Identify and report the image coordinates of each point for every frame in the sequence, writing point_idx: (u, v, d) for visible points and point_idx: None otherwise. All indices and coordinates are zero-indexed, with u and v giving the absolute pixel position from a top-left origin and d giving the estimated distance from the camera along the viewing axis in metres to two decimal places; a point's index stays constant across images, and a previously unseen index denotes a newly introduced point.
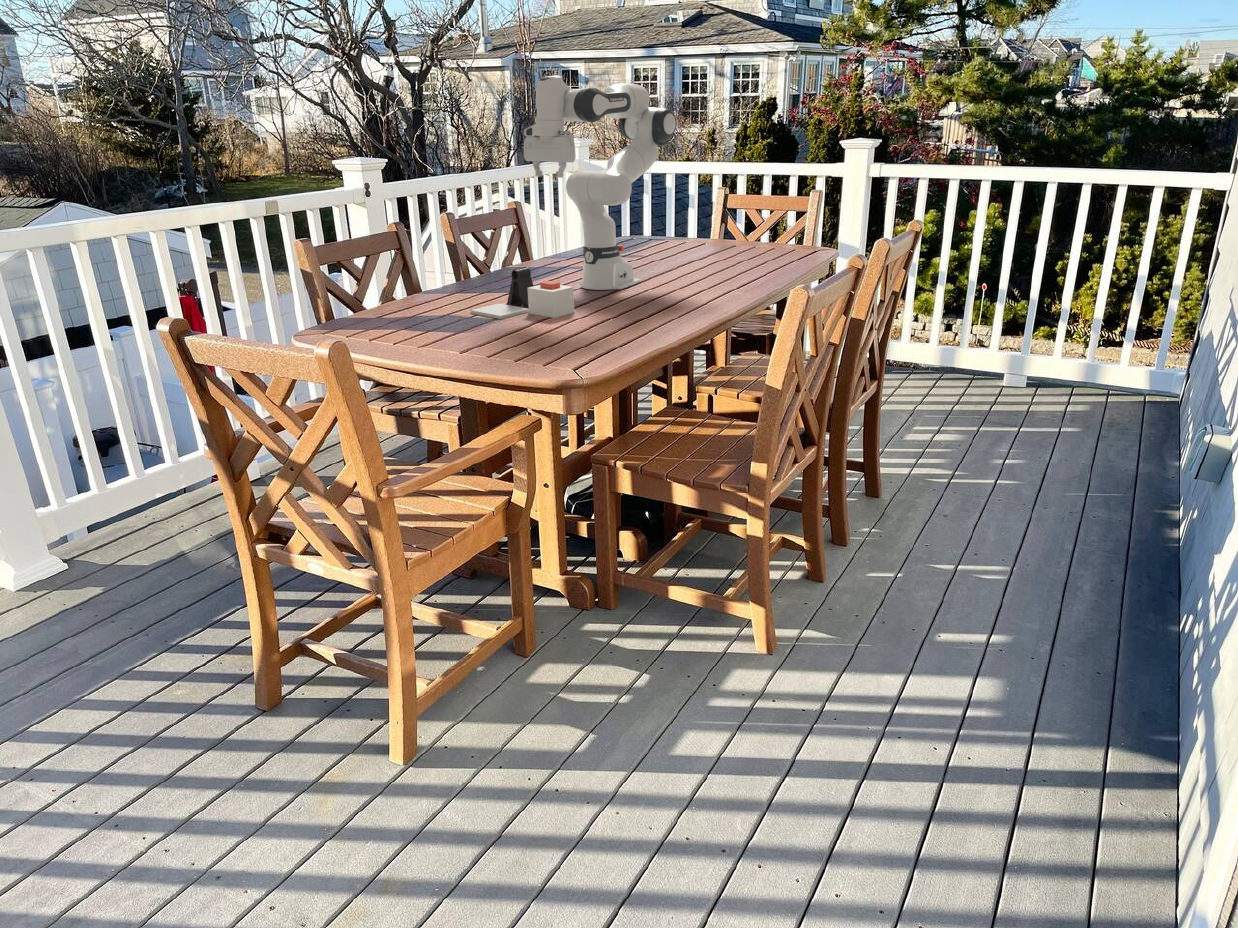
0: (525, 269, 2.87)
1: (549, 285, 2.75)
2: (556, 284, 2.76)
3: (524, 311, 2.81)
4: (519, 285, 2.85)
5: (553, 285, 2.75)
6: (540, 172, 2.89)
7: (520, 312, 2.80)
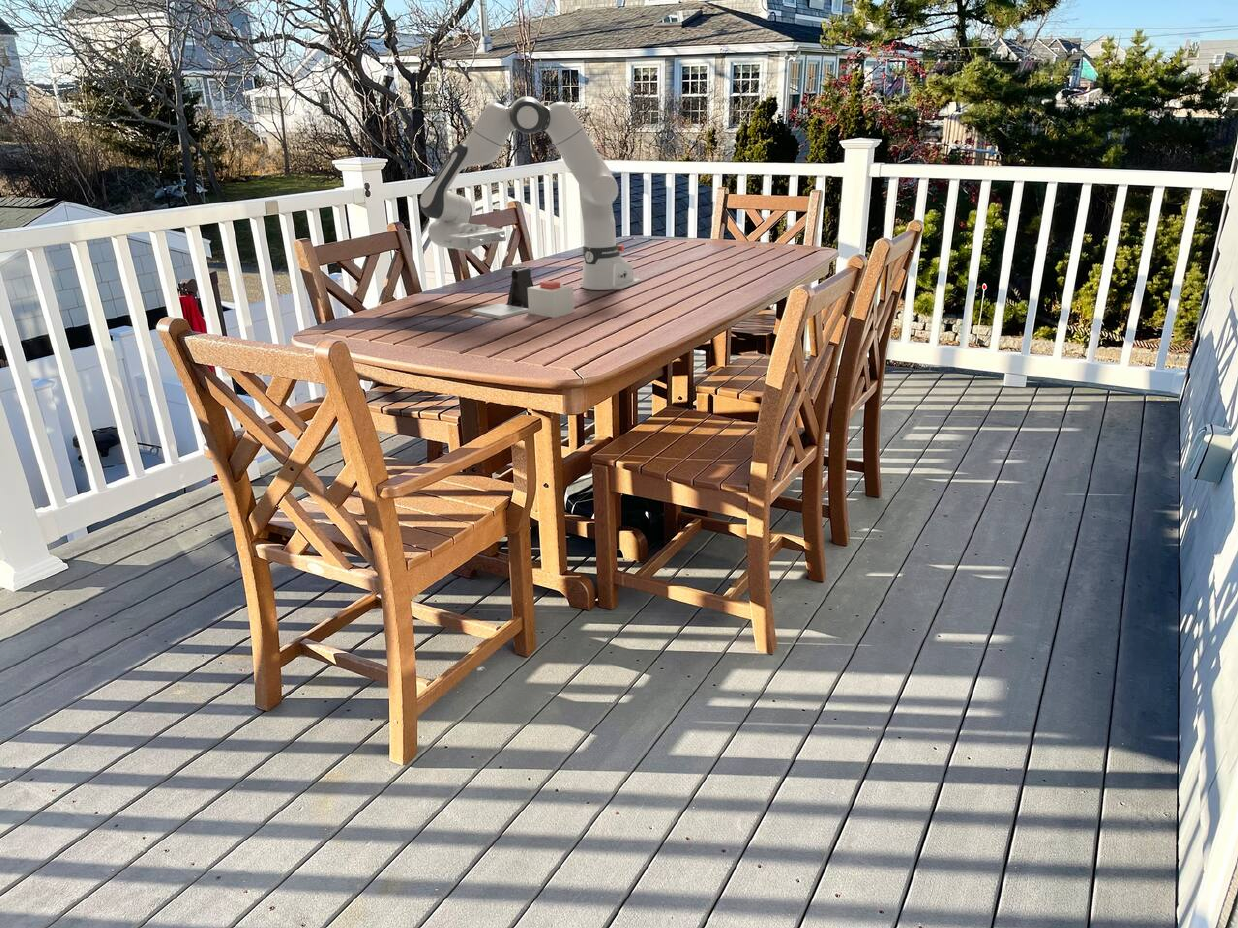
0: (525, 269, 2.87)
1: (549, 285, 2.75)
2: (556, 284, 2.76)
3: (524, 311, 2.81)
4: (519, 285, 2.85)
5: (553, 285, 2.75)
6: (499, 238, 2.95)
7: (520, 312, 2.80)
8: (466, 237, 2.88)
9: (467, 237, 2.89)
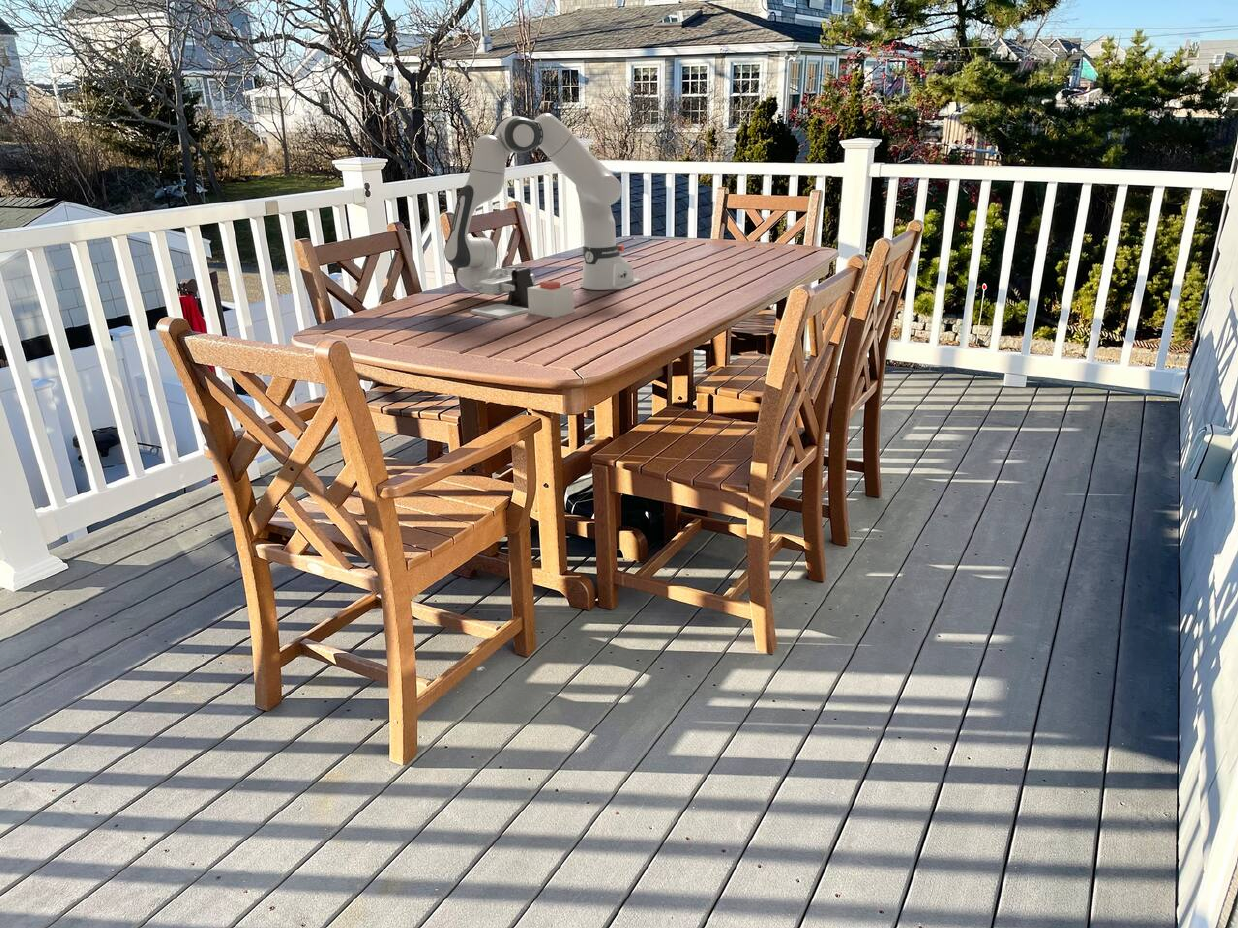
0: (525, 269, 2.87)
1: (549, 285, 2.75)
2: (556, 284, 2.76)
3: (524, 311, 2.81)
4: (519, 285, 2.85)
5: (553, 285, 2.75)
6: None
7: (520, 312, 2.80)
8: (496, 283, 2.86)
9: (497, 283, 2.86)
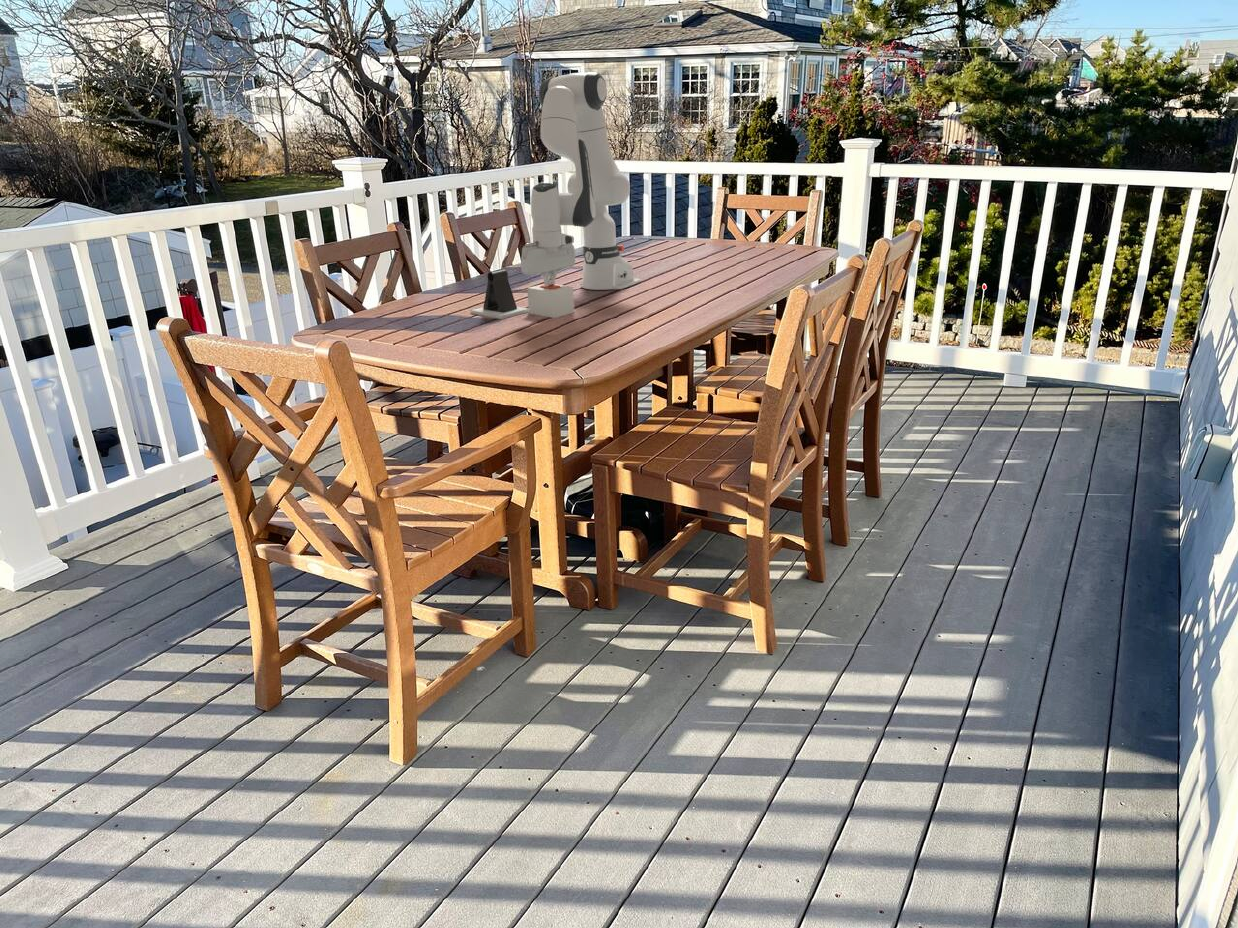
0: (502, 272, 2.79)
1: (549, 288, 2.75)
2: (556, 287, 2.76)
3: (524, 311, 2.81)
4: (495, 288, 2.77)
5: (553, 288, 2.75)
6: None
7: (520, 312, 2.80)
8: None
9: None
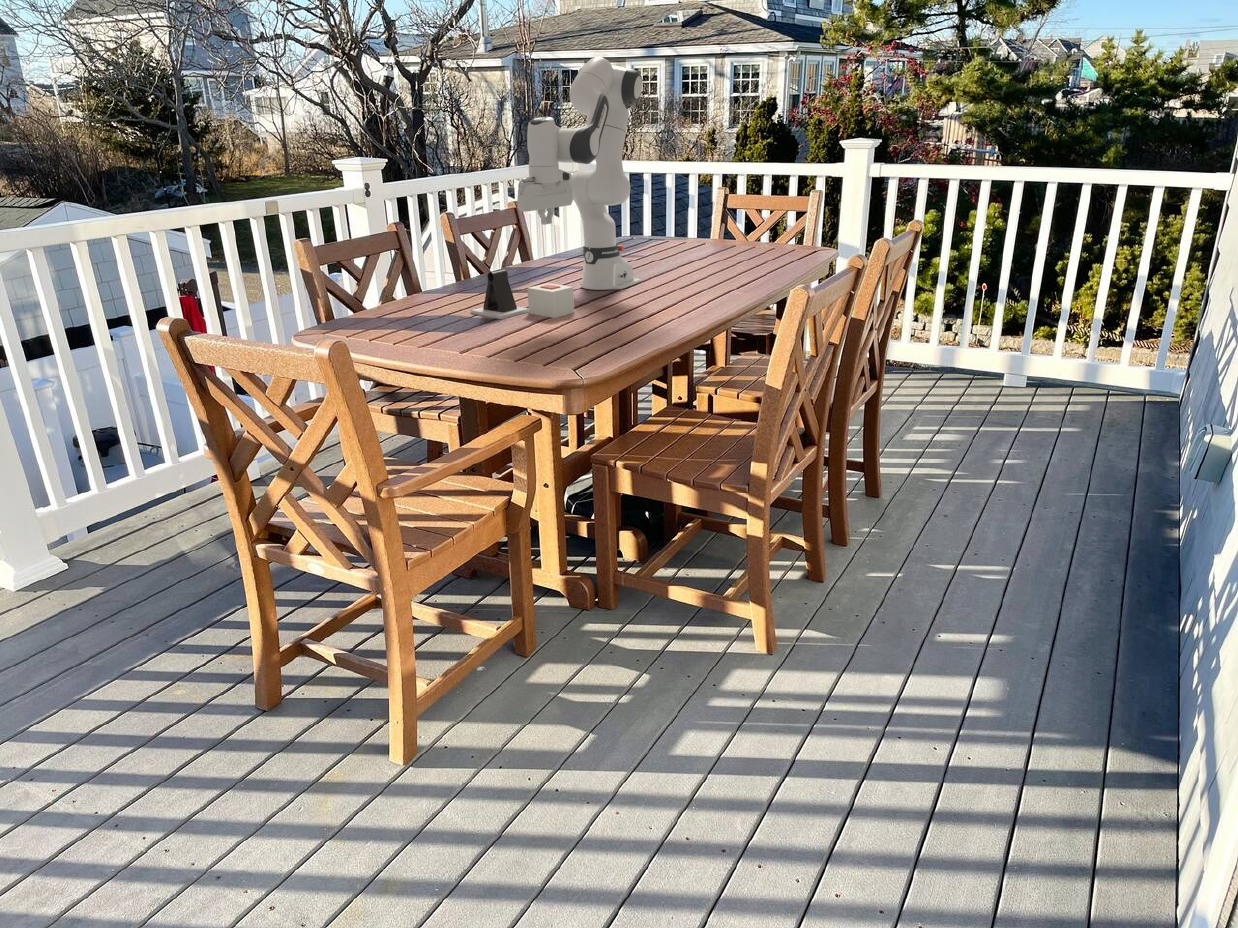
0: (502, 272, 2.79)
1: None
2: (556, 288, 2.76)
3: (524, 311, 2.81)
4: (495, 288, 2.77)
5: None
6: None
7: (520, 312, 2.80)
8: (531, 210, 2.63)
9: (532, 210, 2.63)
